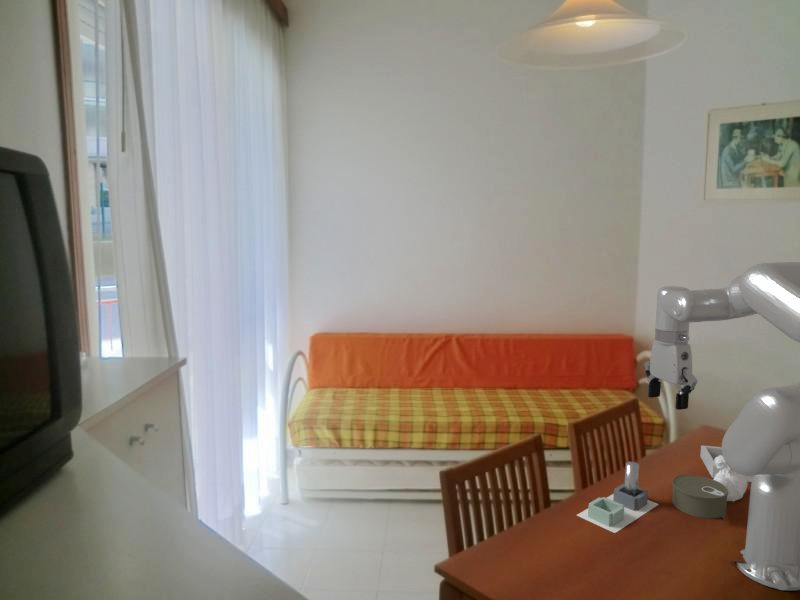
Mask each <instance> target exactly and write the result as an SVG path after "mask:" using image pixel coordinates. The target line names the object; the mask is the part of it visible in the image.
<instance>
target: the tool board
mask: <svg viewBox="0 0 800 600" xmlns="http://www.w3.org/2000/svg"><path fill="white" fill-rule="evenodd" d="M624 489H625V483H622V484H620V485H618V486H617V487H615V488H614V489H613V493H612V494H610V495H608V496H607V497H606V496H603V497H600V496H599V497H597V498H596V499H594V500H592V501H591V502H588V505H587V506H588V508H586V509H584V510H583V511H581V512H580V513H577V514H576V516H577V517H579V518H581V519H583V520H585V521H587V522H590V523H592V524H594V525H597V526H598V527H601V528H603V529H604V530H607V531H610V532H611V533H614V534H616V533H618V532H619V531H621V530H622V529H623V528H625V527H626V526H628V525H629V524H632V523H633V522H635V521H636V520H638V519H639V518H640V517H642V516H644V515H645V514H646V513H648V512H650V511H651V510H653V509H654V508H656V507H657V506H659V503H657V502H654V501H651V500H649V499H648V497H649V494H648V493H649V491H648V490H647V489H644V488H641V487H639V486H638V492H637V496H636V497H633V496H631V495H628V494H626V493H624Z"/></svg>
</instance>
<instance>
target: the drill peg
mask: <svg viewBox="0 0 800 600" xmlns="http://www.w3.org/2000/svg"><path fill="white" fill-rule="evenodd" d="M639 472H640V463H637V462H634V461H626V462H625V472H624V473H625V474H624V484H625V489H624V493H626V494H628V495H631V496H633V497H636V496H637V492H638V487H639Z"/></svg>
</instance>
